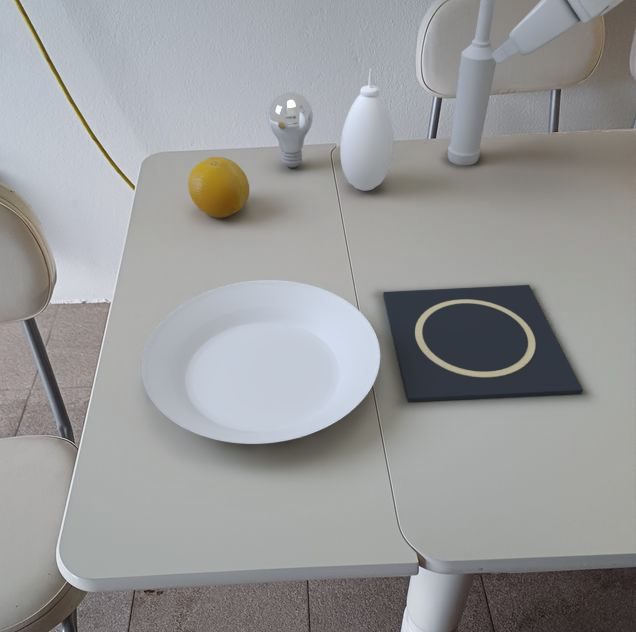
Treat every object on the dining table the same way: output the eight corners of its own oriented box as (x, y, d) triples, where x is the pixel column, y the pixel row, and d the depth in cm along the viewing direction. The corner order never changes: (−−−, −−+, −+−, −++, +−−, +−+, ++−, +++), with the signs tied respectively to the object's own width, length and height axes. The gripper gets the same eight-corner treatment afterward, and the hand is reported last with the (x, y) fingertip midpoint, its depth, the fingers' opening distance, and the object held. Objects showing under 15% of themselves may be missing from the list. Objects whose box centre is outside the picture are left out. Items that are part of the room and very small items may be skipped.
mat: (528, 288, 80) (529, 283, 79) (581, 393, 67) (583, 388, 66) (383, 295, 80) (383, 290, 80) (407, 402, 67) (408, 397, 66)
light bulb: (299, 181, 102) (297, 106, 94) (262, 171, 105) (257, 98, 97) (321, 162, 107) (320, 89, 98) (285, 154, 109) (282, 82, 101)
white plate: (397, 323, 76) (400, 299, 74) (346, 494, 59) (347, 470, 56) (202, 289, 82) (199, 266, 80) (104, 435, 65) (96, 411, 63)
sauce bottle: (384, 203, 96) (393, 80, 84) (334, 197, 98) (335, 76, 86) (394, 178, 102) (404, 60, 89) (346, 173, 104) (349, 56, 91)
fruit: (260, 205, 97) (257, 155, 92) (233, 231, 92) (227, 180, 87) (211, 193, 100) (205, 144, 95) (181, 218, 95) (173, 168, 90)
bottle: (444, 164, 105) (468, -7, 88) (448, 150, 108) (472, -17, 91) (477, 167, 103) (508, -5, 86) (480, 153, 107) (510, -16, 90)
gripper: (598, -61, 89) (512, 9, 99) (564, -25, 76) (470, 51, 86) (623, -22, 90) (536, 43, 100) (594, 20, 77) (497, 90, 87)
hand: (505, 47), depth 93 cm, fingers open, 8 cm apart
